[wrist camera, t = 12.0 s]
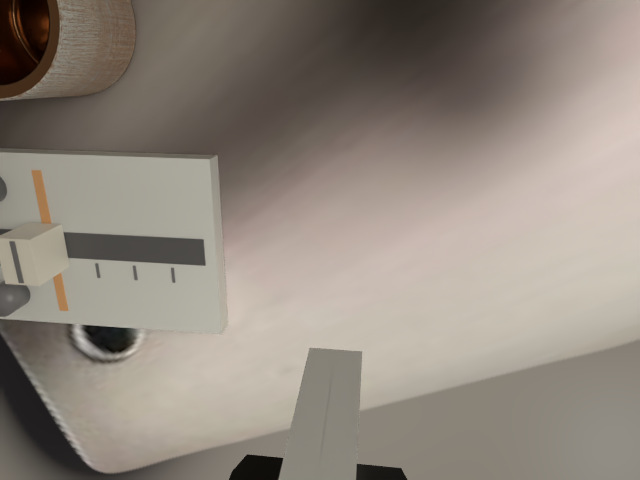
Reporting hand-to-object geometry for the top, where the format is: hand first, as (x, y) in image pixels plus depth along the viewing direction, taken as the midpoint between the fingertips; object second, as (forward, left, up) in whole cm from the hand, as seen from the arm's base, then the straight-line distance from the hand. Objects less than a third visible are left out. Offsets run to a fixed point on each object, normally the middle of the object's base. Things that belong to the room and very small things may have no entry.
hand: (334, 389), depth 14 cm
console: (+6, -23, -26) cm, 36 cm away
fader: (+6, -27, -24) cm, 37 cm away
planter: (-12, -23, -27) cm, 37 cm away
